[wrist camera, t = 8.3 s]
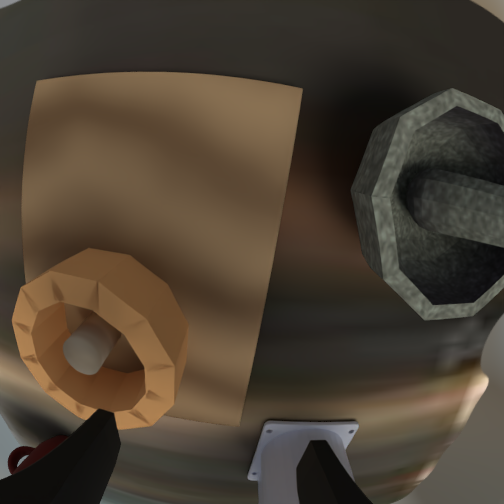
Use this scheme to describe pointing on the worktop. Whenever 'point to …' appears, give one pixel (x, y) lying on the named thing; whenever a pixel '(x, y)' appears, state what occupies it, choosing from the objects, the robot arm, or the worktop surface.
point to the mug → (32, 453)
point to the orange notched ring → (119, 316)
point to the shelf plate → (165, 210)
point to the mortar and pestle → (435, 204)
